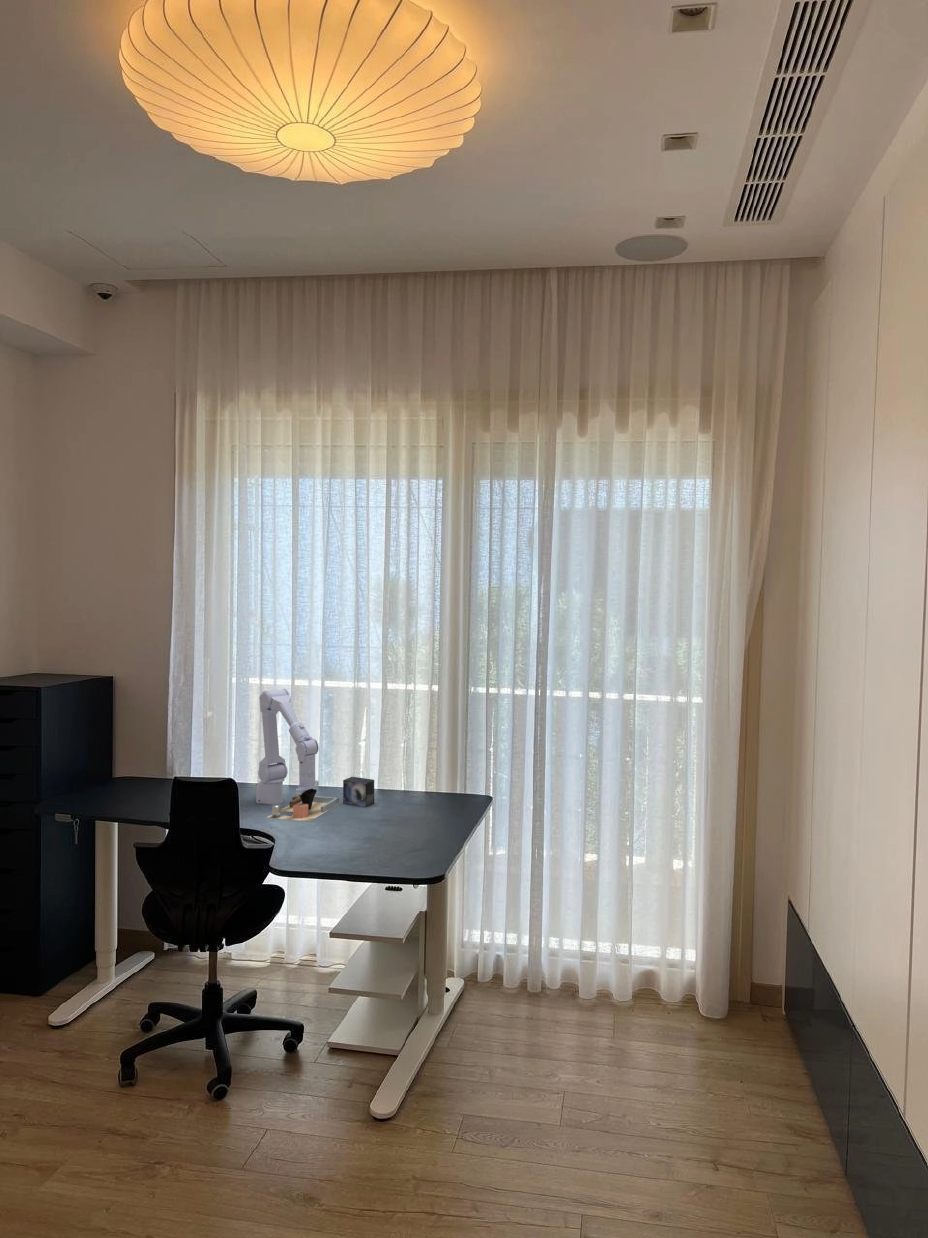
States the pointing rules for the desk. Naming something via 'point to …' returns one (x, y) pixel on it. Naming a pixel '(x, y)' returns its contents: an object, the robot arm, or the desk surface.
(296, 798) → the walnut bar
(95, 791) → the desk surface
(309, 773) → the robot arm
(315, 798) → the grey rectangular frame
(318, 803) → the birch board
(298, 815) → the coral cube
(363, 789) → the small box
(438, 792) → the desk surface
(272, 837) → the desk surface
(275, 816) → the grey metal peg
